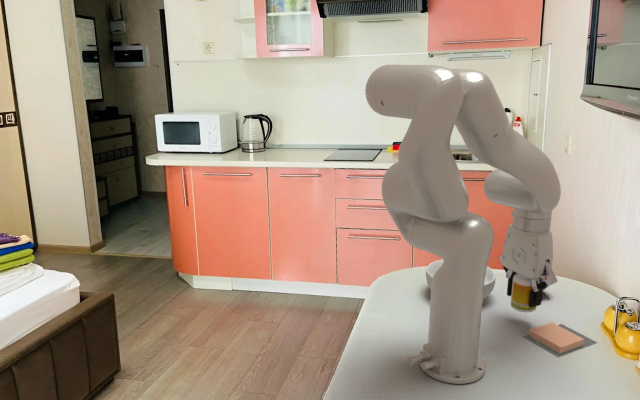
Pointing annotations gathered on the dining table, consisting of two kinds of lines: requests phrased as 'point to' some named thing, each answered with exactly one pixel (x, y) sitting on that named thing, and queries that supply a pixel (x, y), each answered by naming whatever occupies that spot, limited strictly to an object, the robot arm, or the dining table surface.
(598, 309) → the dining table surface
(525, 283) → the supplement bottle
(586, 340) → the rubber mat
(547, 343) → the tile
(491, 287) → the cereal bowl
